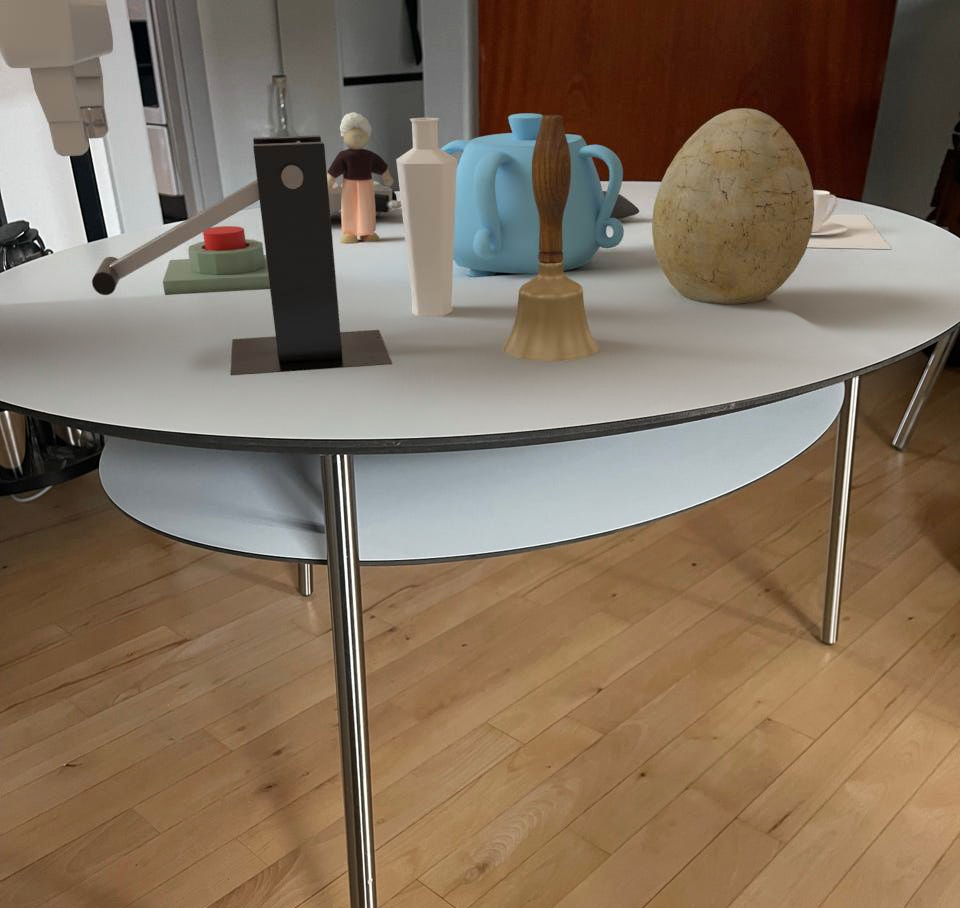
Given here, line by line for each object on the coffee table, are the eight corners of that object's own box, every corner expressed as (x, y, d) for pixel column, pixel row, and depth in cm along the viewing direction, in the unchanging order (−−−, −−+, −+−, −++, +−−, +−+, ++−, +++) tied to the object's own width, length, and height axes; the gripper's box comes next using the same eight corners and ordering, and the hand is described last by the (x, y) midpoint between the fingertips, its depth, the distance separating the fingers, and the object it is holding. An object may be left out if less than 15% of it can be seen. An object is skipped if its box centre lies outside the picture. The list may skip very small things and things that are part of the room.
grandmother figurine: (340, 247, 110) (329, 115, 104) (324, 241, 113) (313, 113, 106) (402, 238, 114) (396, 111, 107) (385, 233, 117) (378, 108, 110)
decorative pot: (632, 284, 94) (644, 119, 87) (462, 295, 91) (459, 125, 84) (578, 249, 108) (584, 104, 101) (428, 258, 105) (423, 109, 98)
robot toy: (388, 214, 132) (269, 211, 128) (388, 176, 129) (268, 172, 126) (404, 231, 122) (276, 229, 118) (405, 190, 119) (275, 186, 116)
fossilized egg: (666, 284, 94) (680, 100, 86) (809, 295, 89) (838, 102, 81) (629, 319, 84) (641, 114, 76) (788, 333, 79) (819, 117, 72)
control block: (166, 307, 89) (158, 259, 87) (173, 284, 97) (166, 239, 95) (294, 299, 91) (289, 252, 89) (291, 277, 98) (286, 233, 96)
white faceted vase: (417, 316, 85) (407, 115, 77) (465, 321, 84) (461, 116, 76) (393, 331, 82) (380, 121, 74) (443, 335, 80) (436, 122, 72)
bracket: (232, 392, 69) (197, 151, 61) (234, 354, 77) (203, 135, 69) (394, 381, 71) (380, 145, 63) (380, 345, 78) (366, 130, 70)
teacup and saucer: (767, 238, 111) (772, 197, 109) (763, 224, 118) (768, 186, 115) (851, 239, 110) (858, 198, 107) (842, 226, 116) (848, 187, 114)
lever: (105, 306, 67) (82, 272, 65) (114, 288, 71) (92, 256, 70) (321, 183, 65) (301, 146, 64) (316, 172, 69) (298, 137, 68)
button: (204, 255, 90) (201, 234, 89) (206, 247, 93) (203, 227, 92) (246, 253, 91) (243, 232, 90) (246, 245, 94) (244, 225, 93)
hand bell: (483, 378, 71) (480, 122, 63) (502, 344, 78) (502, 109, 69) (603, 383, 70) (616, 122, 61) (611, 348, 77) (624, 109, 68)
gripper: (6, -112, 65) (58, 131, 72) (-83, -155, 48) (-2, 169, 55) (109, -113, 66) (150, 127, 73) (58, -155, 49) (119, 163, 56)
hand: (84, 145), depth 64 cm, fingers open, 8 cm apart
